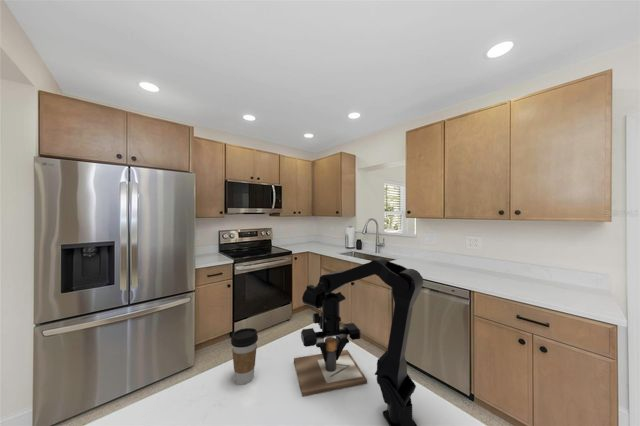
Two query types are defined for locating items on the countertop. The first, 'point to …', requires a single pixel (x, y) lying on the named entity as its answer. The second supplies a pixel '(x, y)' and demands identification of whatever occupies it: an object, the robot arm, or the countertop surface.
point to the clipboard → (327, 374)
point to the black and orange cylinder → (330, 354)
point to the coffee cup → (244, 354)
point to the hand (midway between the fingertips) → (330, 360)
